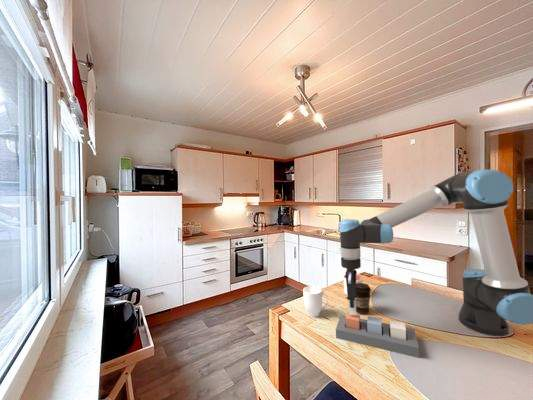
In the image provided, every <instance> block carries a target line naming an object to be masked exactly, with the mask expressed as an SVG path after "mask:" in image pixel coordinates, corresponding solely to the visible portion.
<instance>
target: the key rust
mask: <svg viewBox="0 0 533 400" xmlns="http://www.w3.org/2000/svg"><path fill="white" fill-rule="evenodd" d="M345 316H346V327H347V328H352V329H356V330H360V319H361V314H359V313H356V315H351V314H349V311H347V313H346V315H345Z"/></svg>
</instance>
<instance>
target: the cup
mask: <svg viewBox="0 0 533 400" xmlns="http://www.w3.org/2000/svg"><path fill="white" fill-rule="evenodd" d="M356 283H363V277H362V276H361V275H359V274H357V275H356ZM343 293H344V294H345V295H346V297H348V295H347V283H346V274H345V275H343Z"/></svg>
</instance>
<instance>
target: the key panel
mask: <svg viewBox="0 0 533 400" xmlns="http://www.w3.org/2000/svg"><path fill="white" fill-rule="evenodd" d="M405 328H406V340H403V339H398V338H393V337H391V335H390V323H386V322H382V335H379V334H375V333H370V332H367V319H366V318H360V330H356V329H352V328H347V327H346V315H344V314H340V315H339V319H338V322H337V325H336V328H335V338H336V339H339V340H344V341H347V342H351V343H356V344H361V345H364V346H369V347H372V348H377V349H379V350H380V349H381V350H385V351H388V352H389V351H390V352H393V353H398V354H402V355H405V356H409V357H414V358H417V359H419V358H420V345H419V342H418V341H419V340H418V338H417V334H416V329H415V328H413V327H406V326H405Z"/></svg>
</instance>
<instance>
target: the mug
mask: <svg viewBox="0 0 533 400" xmlns="http://www.w3.org/2000/svg"><path fill="white" fill-rule="evenodd" d="M302 292H303V295H302V296H303V304H304V307H305V309H306V312H307V315H308V316H309V317H312V318H317V317H319V315H320V313H321V311H322V310H324V309H325V308H326V307H327V306H328V304H329V298H328V297H329V296H328V294H326V293H325V292H324V291H322V289H321V288H320V287H319V286H316V285H314V286H313V285H312V286H311V285H310V286H305V287H303V289H302ZM323 295H325V296H326V298H327V301H326V303H325V304H324V305H323Z"/></svg>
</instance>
